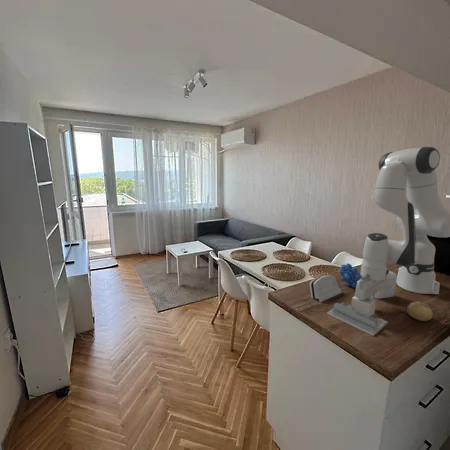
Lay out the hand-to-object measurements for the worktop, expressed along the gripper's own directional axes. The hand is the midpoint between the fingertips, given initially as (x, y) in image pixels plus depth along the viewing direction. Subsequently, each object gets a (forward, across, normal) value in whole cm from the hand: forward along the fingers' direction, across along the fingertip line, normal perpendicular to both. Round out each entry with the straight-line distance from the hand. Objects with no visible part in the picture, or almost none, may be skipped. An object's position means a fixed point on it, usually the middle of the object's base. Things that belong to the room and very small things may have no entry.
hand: (369, 302), depth 105 cm
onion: (+3, +8, -15) cm, 18 cm away
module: (+2, -7, 0) cm, 7 cm away
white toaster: (+3, -3, +19) cm, 19 cm away
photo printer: (+3, +16, +1) cm, 17 cm away
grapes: (+3, +13, +16) cm, 21 cm away
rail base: (+3, -12, -1) cm, 12 cm away
